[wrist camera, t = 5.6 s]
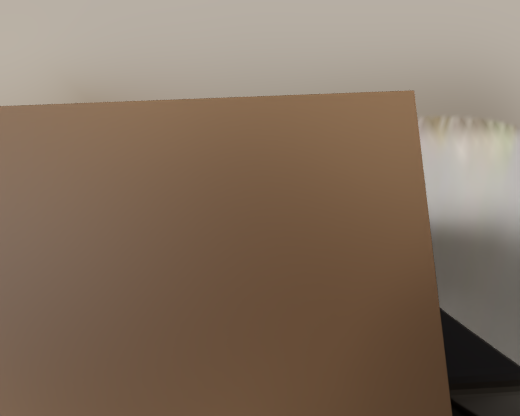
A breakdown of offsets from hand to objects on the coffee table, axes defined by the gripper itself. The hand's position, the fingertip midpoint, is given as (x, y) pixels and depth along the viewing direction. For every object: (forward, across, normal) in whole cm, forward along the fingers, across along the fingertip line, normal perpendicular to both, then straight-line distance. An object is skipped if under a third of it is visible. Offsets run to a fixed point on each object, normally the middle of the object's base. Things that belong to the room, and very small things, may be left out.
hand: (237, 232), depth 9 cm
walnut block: (+4, 0, +6) cm, 7 cm away
